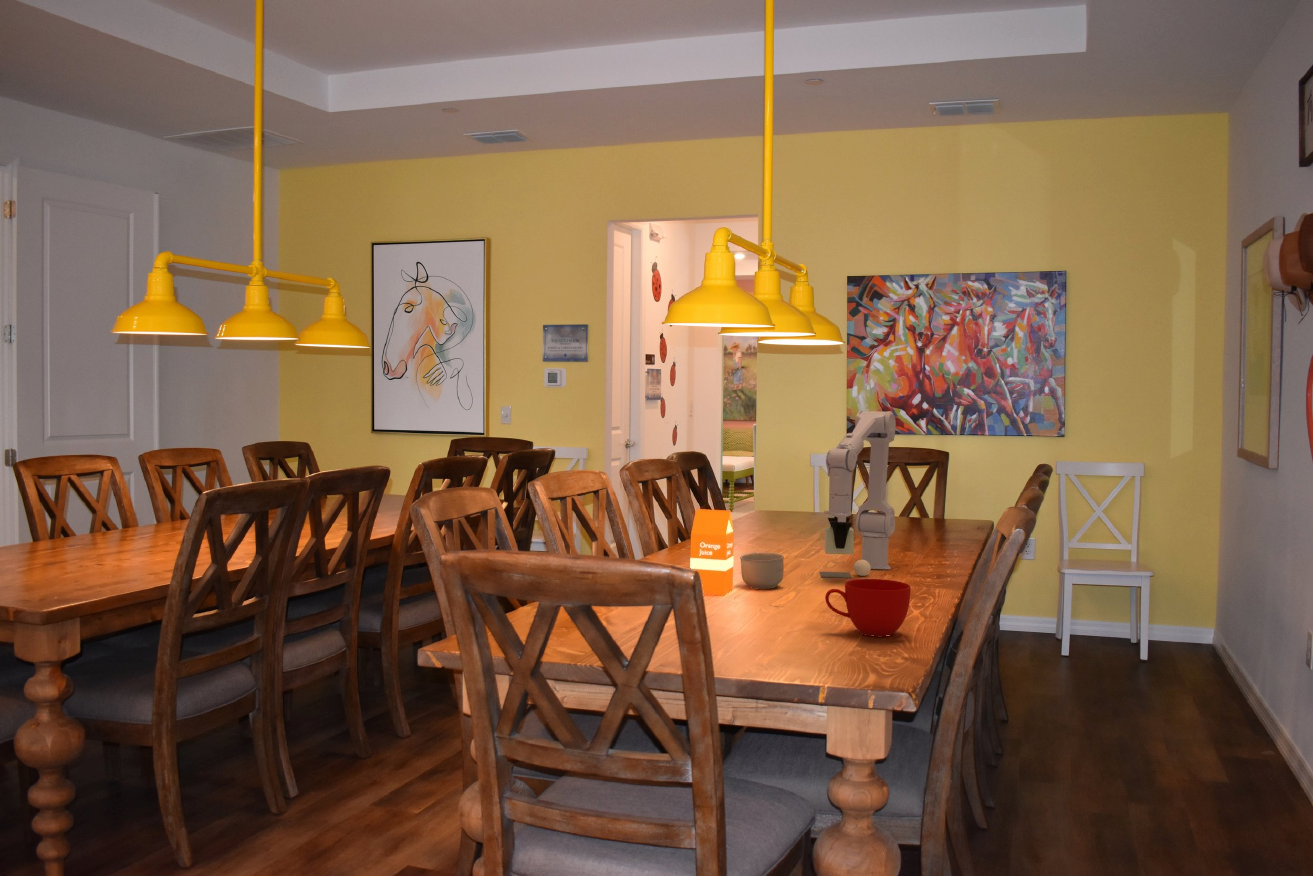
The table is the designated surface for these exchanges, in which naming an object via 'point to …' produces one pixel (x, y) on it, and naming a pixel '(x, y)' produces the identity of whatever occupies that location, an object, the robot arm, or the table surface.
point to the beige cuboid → (830, 542)
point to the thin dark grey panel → (835, 574)
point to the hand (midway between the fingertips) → (839, 546)
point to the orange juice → (713, 550)
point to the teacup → (762, 569)
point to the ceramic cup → (874, 605)
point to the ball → (862, 568)
